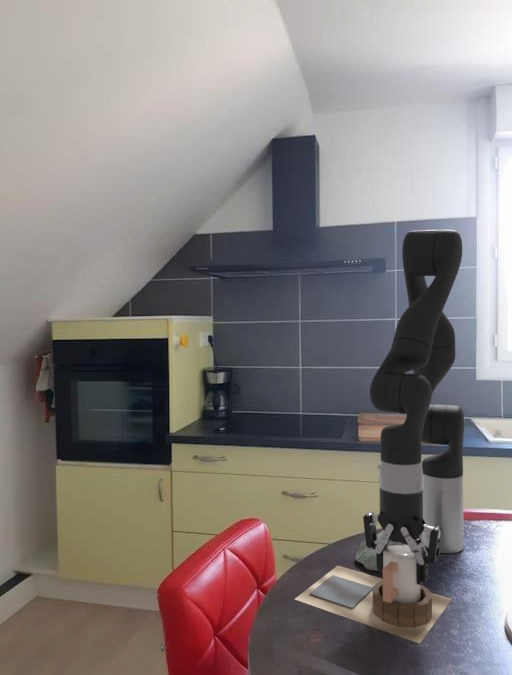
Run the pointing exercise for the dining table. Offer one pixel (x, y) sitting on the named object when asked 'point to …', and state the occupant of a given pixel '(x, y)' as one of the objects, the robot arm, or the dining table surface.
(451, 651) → the dining table surface
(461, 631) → the dining table surface
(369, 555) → the decorative stone
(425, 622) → the serving board
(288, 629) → the dining table surface
